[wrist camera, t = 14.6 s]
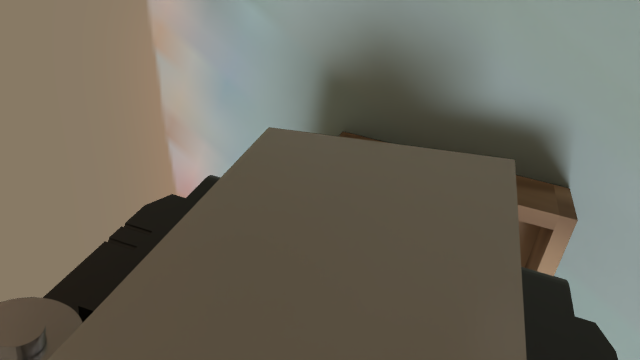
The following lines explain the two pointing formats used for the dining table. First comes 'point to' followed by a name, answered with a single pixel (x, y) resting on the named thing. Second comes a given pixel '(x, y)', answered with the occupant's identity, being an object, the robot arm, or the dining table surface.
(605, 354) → the robot arm
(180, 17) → the dining table surface
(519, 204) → the bin
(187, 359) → the beige grey block
